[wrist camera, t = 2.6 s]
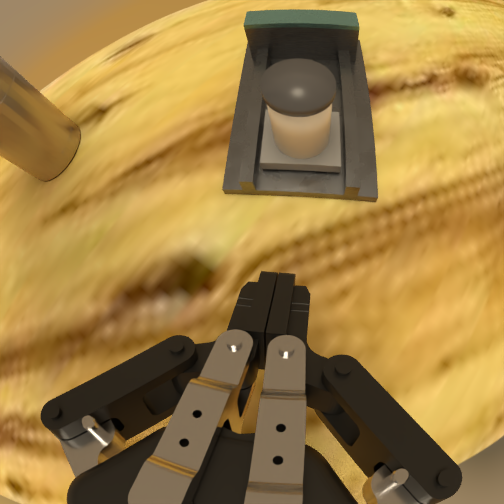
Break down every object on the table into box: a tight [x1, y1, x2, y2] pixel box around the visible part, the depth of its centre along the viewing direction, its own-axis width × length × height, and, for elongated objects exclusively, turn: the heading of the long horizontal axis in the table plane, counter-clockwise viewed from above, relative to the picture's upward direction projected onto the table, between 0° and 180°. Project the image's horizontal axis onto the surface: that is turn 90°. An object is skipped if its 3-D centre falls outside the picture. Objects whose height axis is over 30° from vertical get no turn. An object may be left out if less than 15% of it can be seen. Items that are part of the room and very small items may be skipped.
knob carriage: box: [260, 58, 341, 173], centre depth 23 cm, size 7×6×8 cm
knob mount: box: [222, 10, 378, 202], centre depth 26 cm, size 14×22×7 cm, turn 174°
